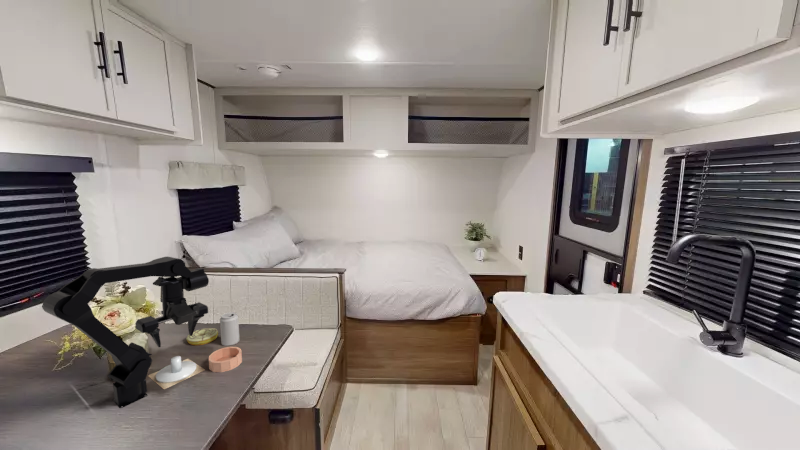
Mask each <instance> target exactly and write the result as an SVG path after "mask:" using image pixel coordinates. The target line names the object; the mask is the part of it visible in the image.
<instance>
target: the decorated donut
mask: <svg viewBox="0 0 800 450" xmlns="http://www.w3.org/2000/svg"><path fill="white" fill-rule="evenodd" d="M218 335H219V330H218V329H217V328H214V327H213V328H212V327H206V328H205V327H203V328H200V329H197V330H196V329H195V330H194V332H193V335H192V336H190V335H189V334H188V335H187V336H186V339H185V340H186V341H187V343H188V344H189V345H191V346H203V345H208V344H210V343H212V342H213V341H215V340H216V339H217V338H218Z"/></svg>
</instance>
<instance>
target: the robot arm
mask: <svg viewBox="0 0 800 450" xmlns="http://www.w3.org/2000/svg"><path fill="white" fill-rule="evenodd" d="M149 277H158V278H157V279H156V280H154V281H153V282H152V285H153V286H157V287H161V298H160V303H161V306H162V310H161V311H160V313H161V315H162V316H159V317H154V316H152V315H150V316H146V317H142V318H140V319H137V320H136V322H135V329H136V330H137V331H139V332H140V333H142V334H147V335H148V334H149V335H150V337H151V339H152V340H153V341H154V343H155V345H156V346H157V348H161V346H162V345H161V343H162V341H161V336H160V331H161V329H160V328H158V327H159V326H160V324H163V323H166V322H169V321H173V322H174V324H175V326H176V325H177V326H180V325H183V324H186V323H187V327H188V335H190V336H192V335H193V332H194V331H195V330H196V325H197V324H198V321H200V319H202V318H203V317H204V316H205V315H207V314H209V307H208V305H206V304H204V303H201V302H196V303H195V302H194V303H192V304H188V303H187V299H186V298H185V296H184V293H185V292H184V291H186V292H191V291H195V290H198V289H201V288H202V289H203V288H205V287H208V285H209V282H210V281H209V280H210V279H209V277H208V275H207V273H206V271H205V269H204V268H201V267H199V268H195V269H192V270H190V269H189V268H188V267H187V266H186V262H185V261H184V260H183V259H181V258H177V257H172V256H163V257H159V258H155V259H152V260H151V261H148V262H143V263H135V264H126V265H118V266H110V267H101V268H96V267H93V268H89V269H87V270H85V271H84V272H83V273H82V274H80V275H79V276H78V277H77V278H75V279H73V280H71V281H70V282H68V283H66V284H65V285H63V286H62V287H60V289H59V290H58V291H55V292H53V293H50V294H49V295H48V296H47V297H45V299H44V300H43V302H42V306H41V308H42V310H43V311H44V312H45V313H47V314H48V315H52V316H53V317H55V318H57V319H59V320H62V321H64V322H66V323H68V324H70V325H72V326H74V327H75V328H76V329H78V330H79V331H80V332H81V333H83V334H84V335H85V336H86V337H88V338H89V339H90V340H92V342H94V343H95V344H97V345H98V346H99V347H100V348H101V349H103V350H104V351H106V352H107V353H108V354H109V355H110V356H111V358H112V361H113V363H114V365H115V366H114V367H113V368H112V369H111V371H110V372H109V373H108V374H107V377H108V379H110V381H112V382H113V383H112V391H113V398H112V402H114V404H115V405H116V406H117V407H118V408H119V409H123V408H125V407H127V406H129V405H131V404H133V403H136V402H138V401H140V400H142V399H143V398H146V397H148V396H149V395H148V393H147V392H148V387H147V386H148V385H147V377H148V372H149V369H150V368H151V366H152V362H153V359H152V357H151V356H152V353H150V352H148V351H147V350H146V348H144V346H142V345H139V344H137V343H134V342H131V341H130V343H129V344H127V343H126V342H125V341H124V340H123V339H122V338H120V337H119V336H118V335H117V334H116V333H114V332H113V331H112V330H111V329H109V327H107V326H106V324H104V323H102V322H101V321H100V320H99V319H98V318H97V317H96V316H95V315H94V313H93V310H92V308H91V306H90V304H89V303H90V302H92V300H94V298H96V295H97V294H98V293H99V291H100V290H101V288H102V287H103V286H104V285H105V284H109V283H116V282H122V281H130V280H136V279H142V278H149Z"/></svg>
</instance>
